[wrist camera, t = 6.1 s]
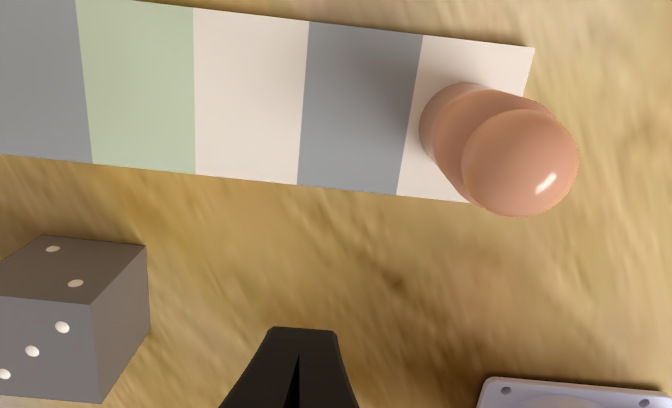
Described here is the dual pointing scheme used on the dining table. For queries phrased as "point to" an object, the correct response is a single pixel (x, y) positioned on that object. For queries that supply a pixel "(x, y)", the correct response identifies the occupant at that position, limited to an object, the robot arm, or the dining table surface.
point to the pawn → (499, 149)
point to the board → (233, 93)
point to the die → (71, 317)
